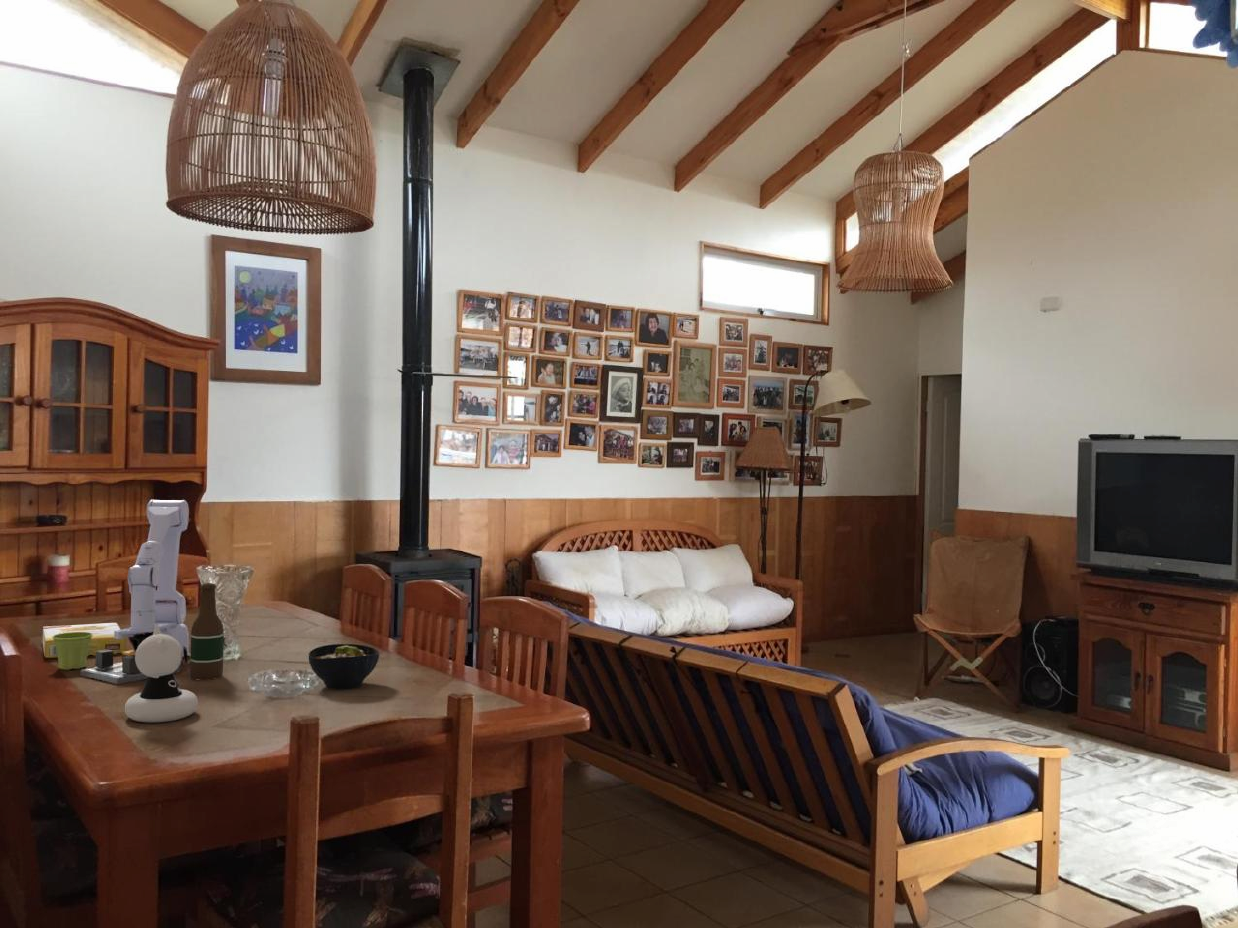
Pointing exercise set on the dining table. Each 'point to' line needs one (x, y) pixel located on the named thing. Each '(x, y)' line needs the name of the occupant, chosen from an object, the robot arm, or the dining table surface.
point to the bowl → (343, 664)
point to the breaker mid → (128, 654)
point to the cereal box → (99, 640)
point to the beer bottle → (207, 638)
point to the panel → (114, 669)
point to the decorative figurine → (160, 682)
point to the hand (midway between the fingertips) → (142, 662)
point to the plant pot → (72, 649)
